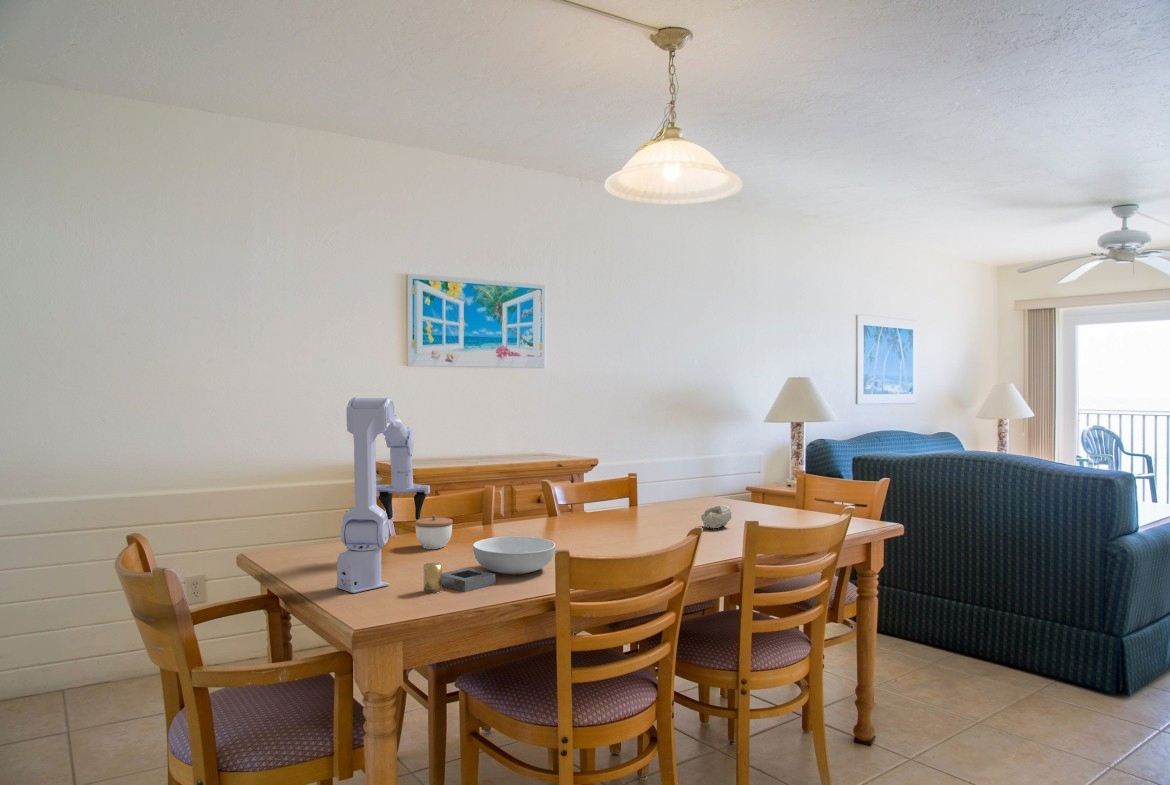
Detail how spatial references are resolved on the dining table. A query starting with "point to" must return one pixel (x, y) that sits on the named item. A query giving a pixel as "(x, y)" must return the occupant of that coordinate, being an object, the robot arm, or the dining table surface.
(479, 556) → the serving bowl
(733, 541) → the dining table surface
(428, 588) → the brass cylinder
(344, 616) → the dining table surface
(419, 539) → the lidded jar
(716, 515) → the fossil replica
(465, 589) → the frame
